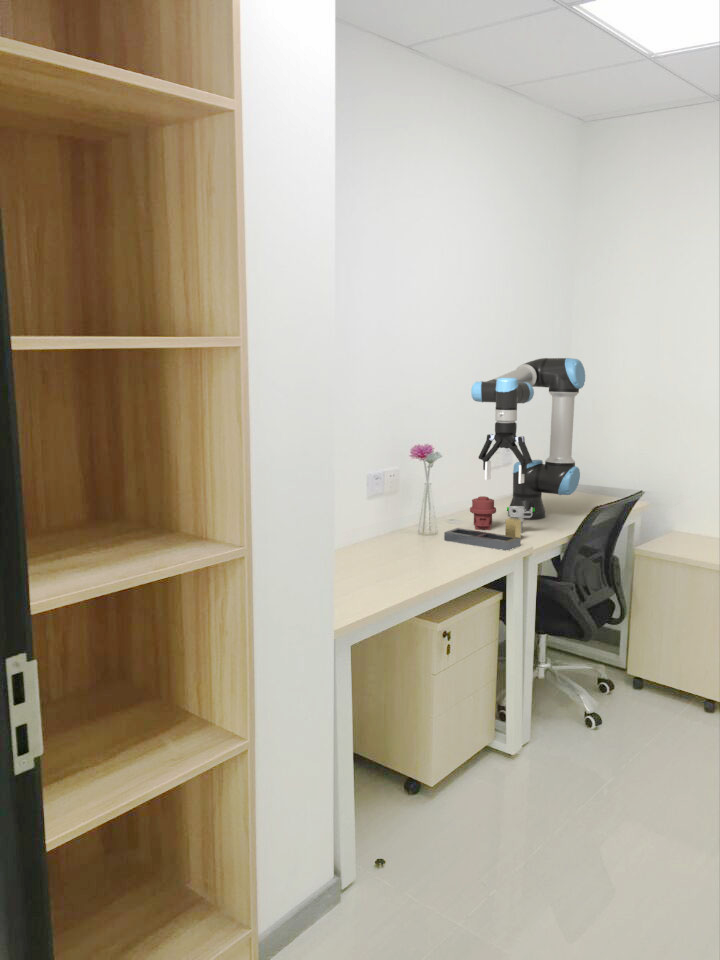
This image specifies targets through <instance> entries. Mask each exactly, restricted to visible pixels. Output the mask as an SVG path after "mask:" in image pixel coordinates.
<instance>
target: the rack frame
mask: <svg viewBox="0 0 720 960" xmlns="http://www.w3.org/2000/svg"><path fill="white" fill-rule="evenodd" d="M443 537H444V541H445V542H453V543H458V544H465V545H469V546H477V547H481V548H482V547H483V548H488V549H494V548H495V550H500V549H502V550H501V551H506V550H509V551H511V550H510V549H512V548H514V549H516V548H515V547H517V546H519V547H521V538H522V537H521V538H519V537H513V536H506V535H505V534H498V533H494V532H493V533H492V532H486V531H479V530H473V529H468V528H467V529H466V528H460V527H457V528H454V529H449V530H448V531H445V532H444V535H443ZM517 548H518V547H517ZM512 550H513V549H512Z"/></svg>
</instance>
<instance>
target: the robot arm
mask: <svg viewBox="0 0 720 960" xmlns="http://www.w3.org/2000/svg"><path fill="white" fill-rule="evenodd" d="M585 382H586V371H585V368H584V365H583V363H582V361H581V360H579V359H578V358H573V357H560V358H559V357H556V358H554V357H550V358H549V357H545V358H544V357H543V358H537V359H534V360H533V359H532V360H531V361H527V362H525V363H523V364H520V365H518V366H517V367H516V368H515V370H511V371H510V372H507V373H504V374H502V375H499V376H498V377H495V378H492V379H490V380H486V381H482V380H481V381H476V382H474V383H473V384H472V386H471V388H470V391H471V398H472V400H473V401H474V402H477V403H478V402H479V403H495V410H494V411H495V414H494V415H495V416H494V418H495V419H494V420H495V423H494V432H495V433H494V434H492V433H490V434H487V435H486V439H485V443H484V444H483V447H482V449H481V451H480V453H479V455H478V459H479V460H482V463H483V464H482V465H483V467H482V469H483V471H484V481H488V480H491V477H492V476H491V474H492V473H491V472H492V470H491V469H492V467H491V466H492V465H491V464H492V463H491V462H492V461H491V459H492V457H493V456H494V455H495V454H496V452H497V451H498V450H499V449H510V451H512V453H513V454H514V456H515V457H516V459H517V460H518V461H517V462H515V463H514V465H513V471H512V497H511V501H510V504H509V506H523V507H525V509H526V511H529V510H530V509H531V507H533V508H535V512H533V511H532V517H530V518H524V520H539V519H543V518H545V517H546V509H545V505H544V502H543V499H542V495H543V493H544V494H551V495H558V496H570V495H572V494H573V493H575V491H576V490H577V488H578V486H579V483H580V479H581V472H580V468H579V467H578V466H576V461H575V460H574V459H573V457H572V456H573V455H572V452H573V437H574V436H573V431H574V429H573V428H574V418H575V417H574V414H575V399H576V396H577V395H578V394H579V393H580V389H583V387H584V386H585ZM534 387H535V388H547V389H548V394H550V396H551V397H552V398H551V399H552V400H551V417H550V418H551V419H550V438H549V441H550V442H549V456H548V457H547V458H546V459H545V461H544V462H543V460H542V459H532V457H531V454H530V452H529V450H528V447H527V445H526V442H525V436H523V435H522V436H517V427H518V426H517V425H518V423H517V422H516V421H517V420H518V404H525V403H529V402H530V401H532V399H533V398H534V395H535V391H534ZM493 441H495V442H494V444H493V445H492V443H493ZM517 443H518V444H517ZM491 446H492V447H491ZM490 447H491V448H490ZM518 447H519V448H518ZM512 512H514V513H515V512H516V510H515V509H514V510H513V511H512ZM525 515H531V513H525ZM507 516H508V517H509V518H517V517H511V516H510V515H509V511H507Z"/></svg>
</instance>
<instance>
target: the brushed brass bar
mask: <svg viewBox="0 0 720 960" xmlns="http://www.w3.org/2000/svg"><path fill="white" fill-rule="evenodd" d="M504 535H506V536H513V537H519V538H522V537H521V535H522V533H521V519H517V518H513V517H509V518H505V534H504Z"/></svg>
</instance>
